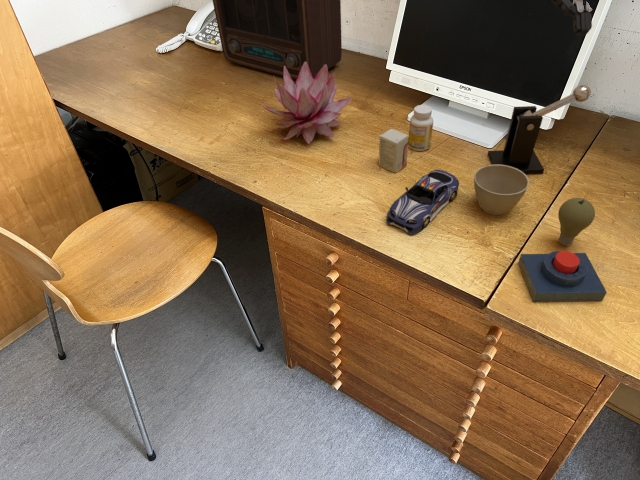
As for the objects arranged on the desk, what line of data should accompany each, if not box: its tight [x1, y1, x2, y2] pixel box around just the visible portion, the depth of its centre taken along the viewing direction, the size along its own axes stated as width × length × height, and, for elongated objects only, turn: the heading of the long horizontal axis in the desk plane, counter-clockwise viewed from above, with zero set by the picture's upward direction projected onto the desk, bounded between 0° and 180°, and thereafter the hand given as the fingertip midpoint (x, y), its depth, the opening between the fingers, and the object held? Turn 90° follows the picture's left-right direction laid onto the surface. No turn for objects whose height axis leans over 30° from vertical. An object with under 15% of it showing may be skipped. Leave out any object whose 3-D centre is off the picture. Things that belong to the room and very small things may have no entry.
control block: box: [517, 250, 608, 303], centre depth 80 cm, size 11×9×4 cm
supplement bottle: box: [408, 104, 434, 152], centre depth 111 cm, size 5×5×10 cm
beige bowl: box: [473, 164, 530, 216], centre depth 93 cm, size 10×10×7 cm
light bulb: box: [557, 197, 596, 246], centre depth 84 cm, size 6×6×10 cm
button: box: [553, 250, 580, 274], centre depth 78 cm, size 4×4×2 cm
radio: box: [212, 0, 343, 80], centre depth 143 cm, size 36×18×30 cm, turn 54°
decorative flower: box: [260, 62, 353, 145], centre depth 117 cm, size 21×21×15 cm
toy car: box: [385, 169, 460, 235], centre depth 96 cm, size 8×18×5 cm, turn 139°
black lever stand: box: [487, 105, 545, 175], centre depth 102 cm, size 10×8×13 cm
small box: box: [378, 128, 409, 174], centre depth 106 cm, size 5×4×8 cm
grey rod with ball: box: [516, 84, 592, 120], centre depth 97 cm, size 14×3×3 cm
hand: (583, 33), depth 94 cm, fingers closed
